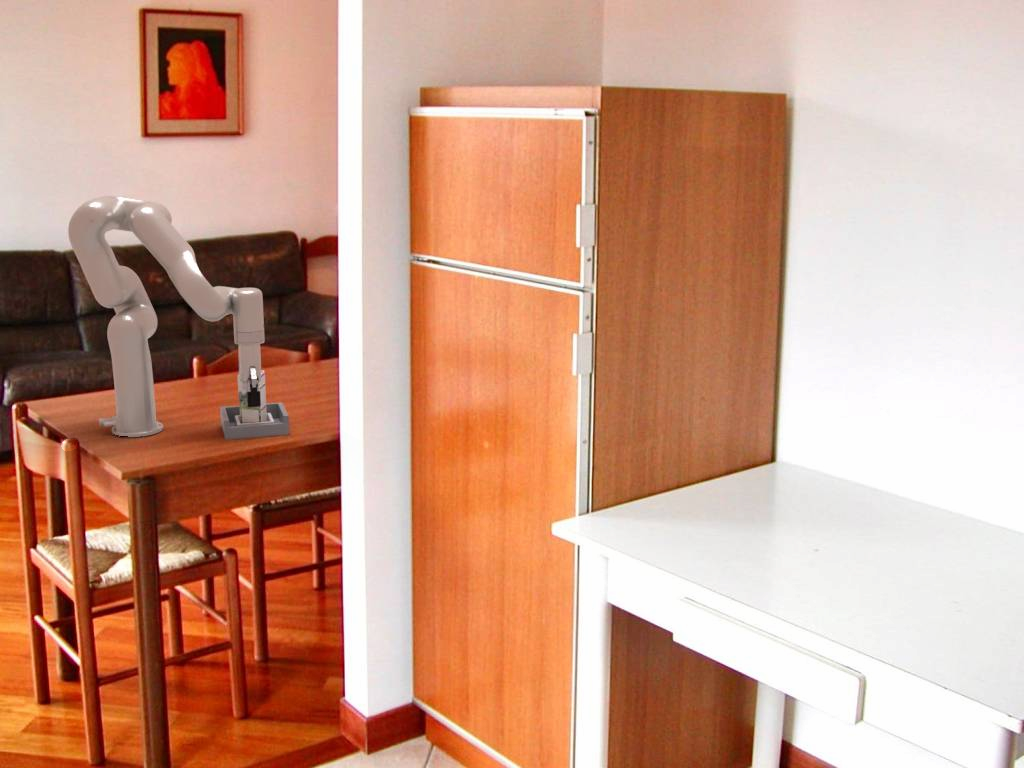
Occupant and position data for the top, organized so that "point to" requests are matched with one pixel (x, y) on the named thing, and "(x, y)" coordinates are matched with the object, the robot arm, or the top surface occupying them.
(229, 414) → the walled box
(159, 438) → the top surface
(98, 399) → the top surface
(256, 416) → the syrup box
